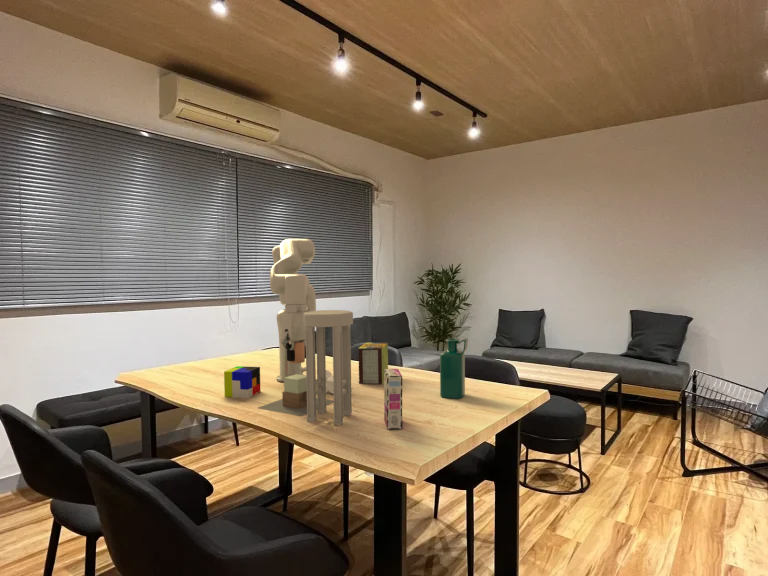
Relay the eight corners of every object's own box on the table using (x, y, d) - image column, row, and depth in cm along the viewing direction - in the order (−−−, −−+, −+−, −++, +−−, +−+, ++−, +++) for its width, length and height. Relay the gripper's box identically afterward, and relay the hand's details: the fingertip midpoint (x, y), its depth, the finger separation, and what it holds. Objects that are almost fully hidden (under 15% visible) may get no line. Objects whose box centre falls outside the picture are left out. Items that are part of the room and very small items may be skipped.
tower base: (296, 400, 171) (296, 387, 171) (312, 403, 167) (312, 389, 167) (282, 405, 164) (282, 391, 164) (298, 408, 161) (298, 394, 160)
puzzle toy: (248, 398, 177) (247, 372, 176) (224, 397, 179) (224, 371, 178) (260, 391, 186) (259, 366, 186) (237, 390, 188) (237, 366, 188)
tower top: (296, 387, 170) (296, 374, 170) (310, 389, 167) (310, 376, 167) (284, 391, 164) (284, 377, 164) (298, 393, 161) (298, 379, 161)
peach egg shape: (296, 359, 169) (295, 340, 169) (308, 361, 166) (307, 341, 166) (285, 362, 164) (285, 342, 164) (297, 363, 161) (297, 343, 161)
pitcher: (439, 397, 174) (438, 339, 173) (444, 392, 182) (443, 336, 181) (465, 399, 170) (464, 340, 169) (469, 394, 178) (468, 337, 177)
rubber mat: (295, 395, 179) (295, 394, 179) (336, 402, 169) (336, 401, 169) (257, 409, 162) (257, 407, 162) (300, 417, 152) (300, 416, 152)
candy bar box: (403, 429, 139) (402, 375, 139) (387, 430, 139) (386, 376, 138) (399, 417, 151) (398, 368, 150) (383, 418, 150) (383, 368, 149)
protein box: (388, 376, 210) (388, 342, 210) (382, 384, 195) (381, 348, 194) (366, 375, 212) (365, 342, 211) (358, 383, 197) (357, 347, 196)
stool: (359, 412, 157) (357, 310, 156) (345, 427, 142) (343, 314, 140) (316, 409, 160) (314, 309, 159) (298, 424, 145) (296, 313, 144)
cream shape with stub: (351, 400, 183) (324, 381, 191) (356, 381, 181) (330, 363, 189) (336, 405, 176) (310, 386, 184) (342, 386, 174) (315, 367, 182)
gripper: (303, 307, 174) (304, 354, 174) (270, 310, 159) (272, 362, 159) (319, 307, 170) (320, 356, 170) (287, 311, 155) (288, 364, 156)
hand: (296, 359), depth 165 cm, fingers closed on peach egg shape, 5 cm apart
